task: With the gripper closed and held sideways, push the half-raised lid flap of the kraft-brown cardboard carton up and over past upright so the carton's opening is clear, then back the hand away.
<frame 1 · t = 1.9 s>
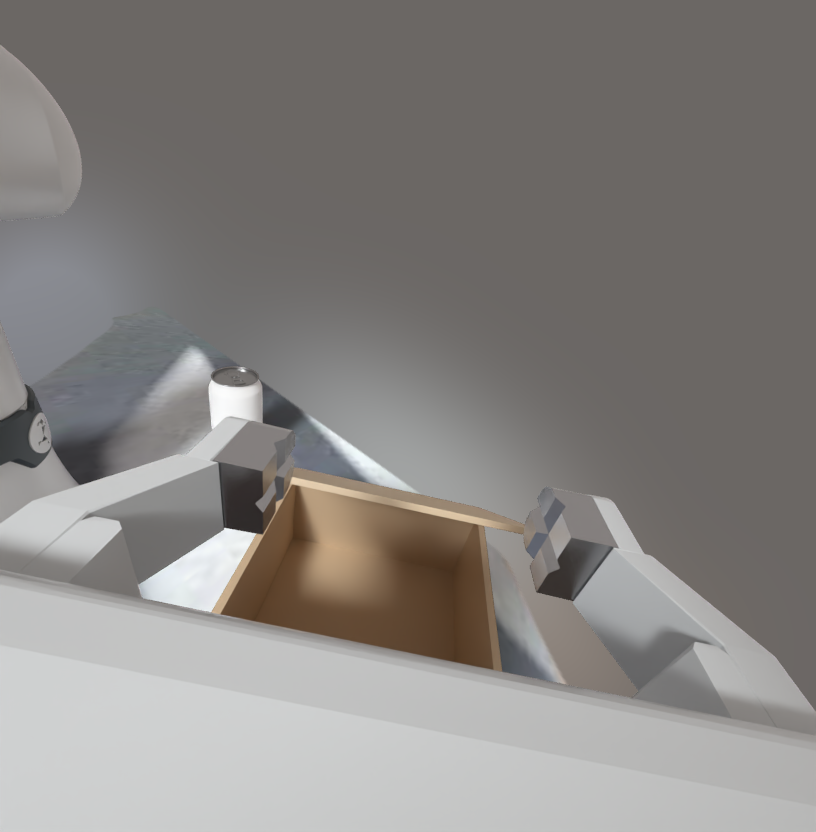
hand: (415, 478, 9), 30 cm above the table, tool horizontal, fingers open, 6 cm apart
carton flap: (389, 494, 29), point 15 cm above the table, hinge at 40.0°
carton: (359, 621, 35), on the table
can: (238, 450, 53), on the table
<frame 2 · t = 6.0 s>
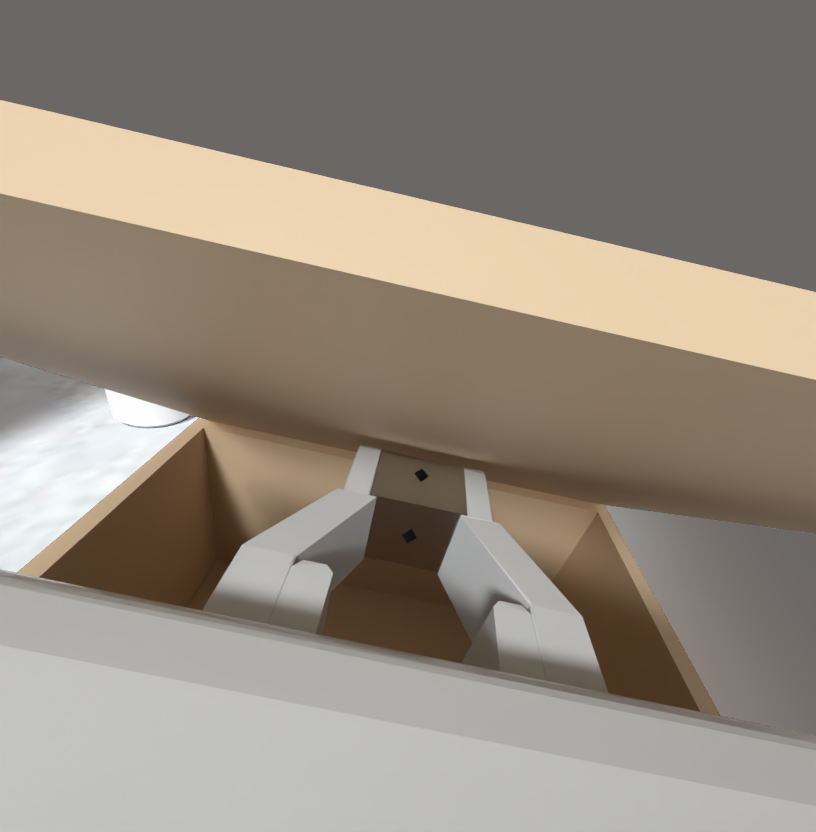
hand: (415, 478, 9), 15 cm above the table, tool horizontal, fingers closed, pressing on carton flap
carton flap: (423, 445, 9), point 15 cm above the table, hinge at 40.0°, touching gripper
carton: (342, 758, 15), on the table
can: (157, 412, 33), on the table
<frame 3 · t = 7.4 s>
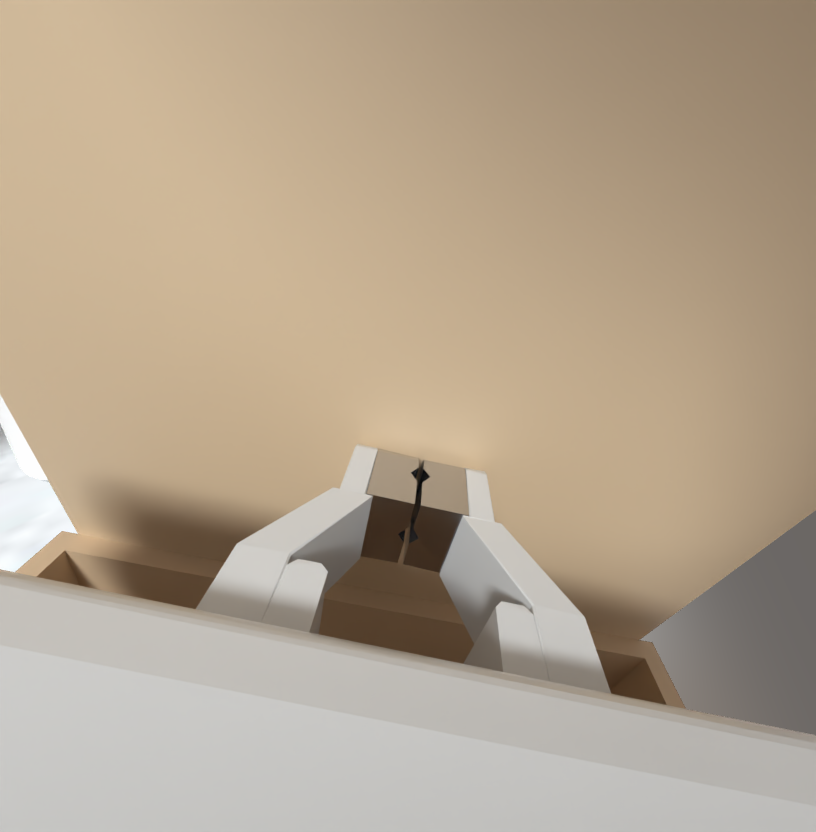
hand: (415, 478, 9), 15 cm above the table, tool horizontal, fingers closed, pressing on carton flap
carton flap: (426, 385, 7), point 18 cm above the table, hinge at 84.6°, touching carton, gripper
can: (83, 457, 27), on the table
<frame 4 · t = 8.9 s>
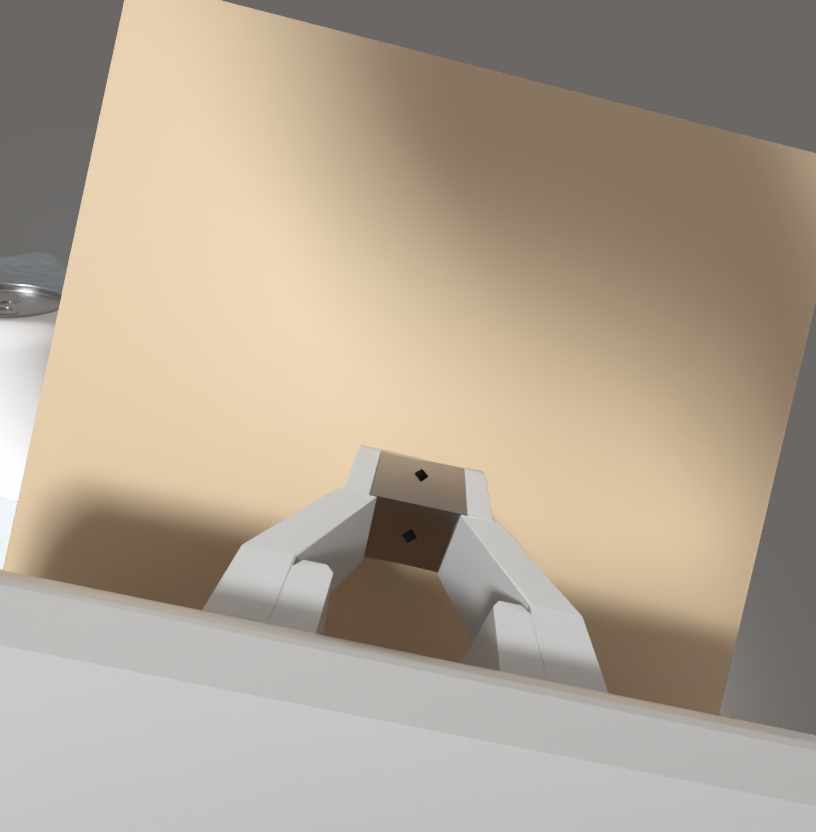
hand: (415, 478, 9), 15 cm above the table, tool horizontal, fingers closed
carton flap: (431, 378, 9), point 17 cm above the table, hinge at 119.8°, touching carton
can: (62, 474, 25), on the table
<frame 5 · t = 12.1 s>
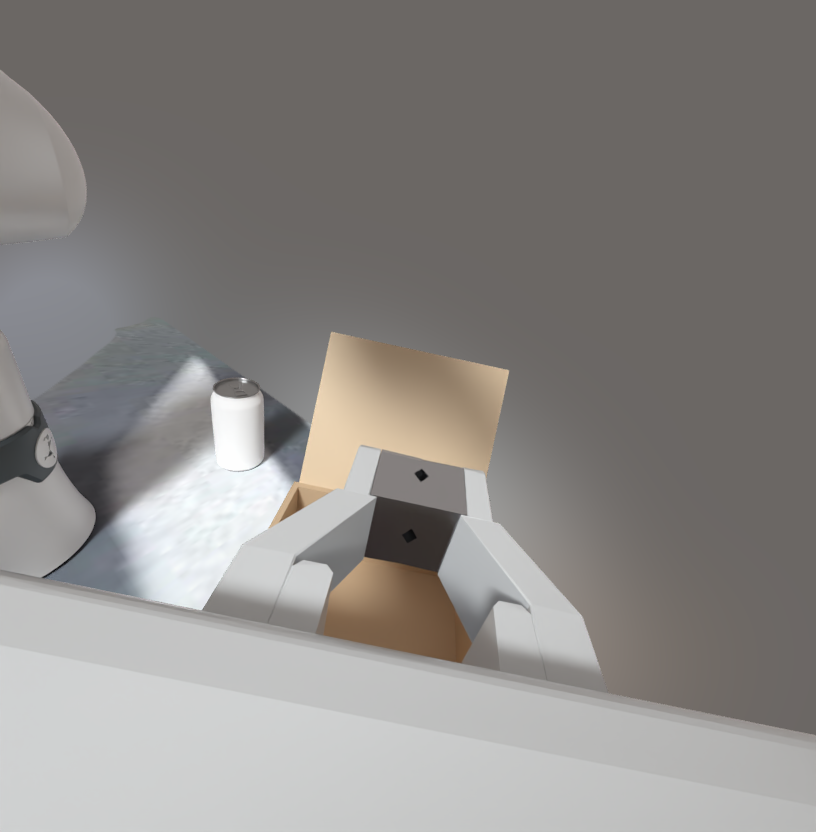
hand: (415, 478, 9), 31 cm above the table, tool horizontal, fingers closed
carton flap: (404, 426, 38), point 17 cm above the table, hinge at 119.8°, touching carton
carton: (361, 630, 36), on the table
can: (240, 459, 53), on the table
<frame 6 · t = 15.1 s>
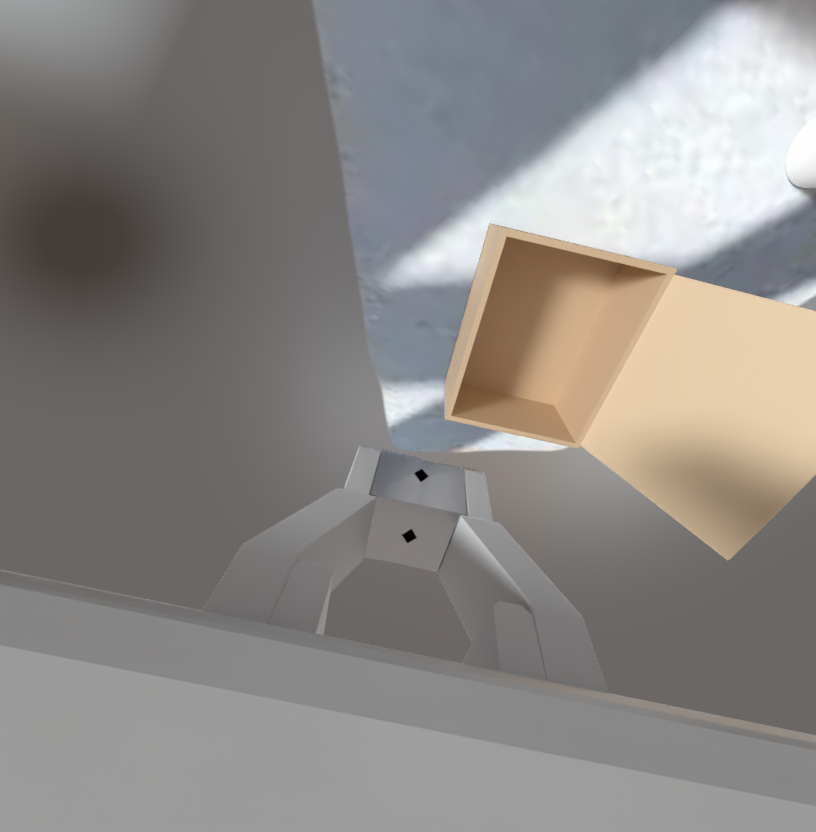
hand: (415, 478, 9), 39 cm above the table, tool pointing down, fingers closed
carton flap: (701, 412, 31), point 17 cm above the table, hinge at 119.8°, touching carton
carton: (526, 326, 45), on the table
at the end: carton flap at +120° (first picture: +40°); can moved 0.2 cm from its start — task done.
